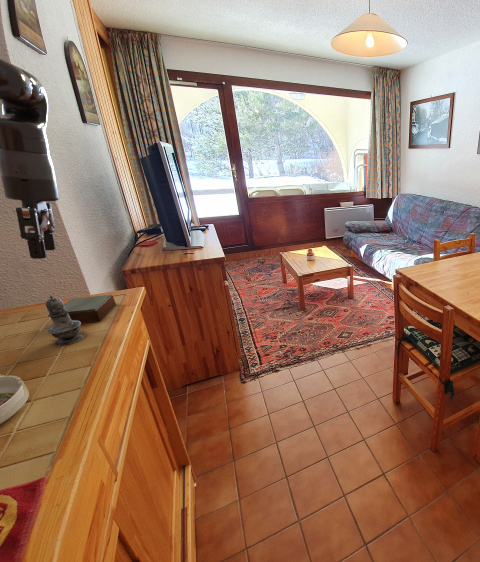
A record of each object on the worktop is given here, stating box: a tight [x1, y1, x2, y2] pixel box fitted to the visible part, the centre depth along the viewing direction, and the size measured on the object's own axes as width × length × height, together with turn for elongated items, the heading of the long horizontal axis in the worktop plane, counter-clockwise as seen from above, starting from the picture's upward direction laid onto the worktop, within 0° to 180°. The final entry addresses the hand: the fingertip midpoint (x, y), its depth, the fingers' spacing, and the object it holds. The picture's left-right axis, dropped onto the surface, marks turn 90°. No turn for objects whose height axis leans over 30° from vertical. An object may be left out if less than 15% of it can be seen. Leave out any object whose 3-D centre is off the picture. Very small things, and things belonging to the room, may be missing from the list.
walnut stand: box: [51, 294, 117, 325], centre depth 86 cm, size 10×10×4 cm
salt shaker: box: [44, 295, 85, 346], centre depth 74 cm, size 6×6×12 cm
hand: (44, 254), depth 67 cm, fingers open, 8 cm apart
